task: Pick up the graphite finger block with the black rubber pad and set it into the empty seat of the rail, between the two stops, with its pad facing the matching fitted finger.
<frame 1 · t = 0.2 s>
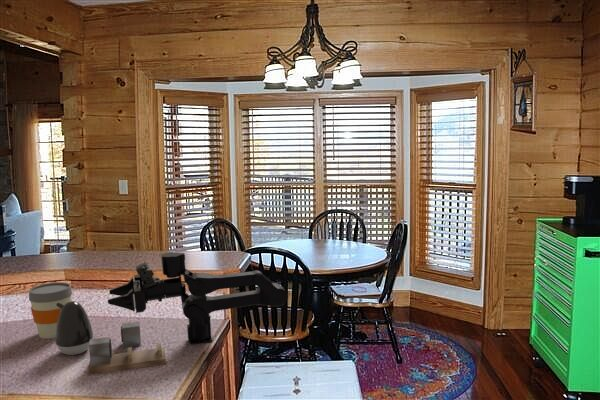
hand: (108, 296, 155), 17 cm above the counter, tool horizontal, fingers open, 9 cm apart
finger block: (132, 343, 163), on the counter
reusable coffee cup: (54, 333, 173), on the counter
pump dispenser: (75, 352, 158), on the counter
rail: (128, 363, 149), on the counter
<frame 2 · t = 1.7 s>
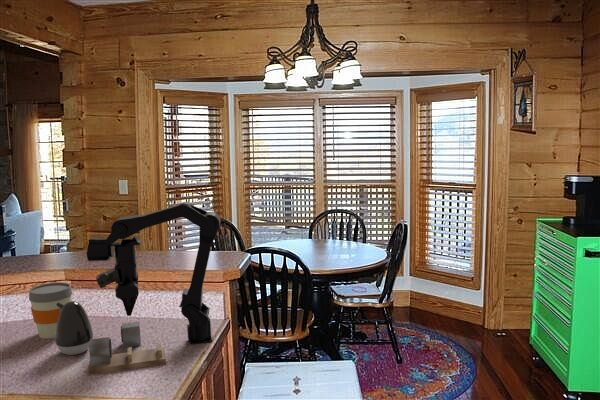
hand: (129, 310, 161), 10 cm above the counter, tool pointing down, fingers open, 9 cm apart
nothing on the counter moved.
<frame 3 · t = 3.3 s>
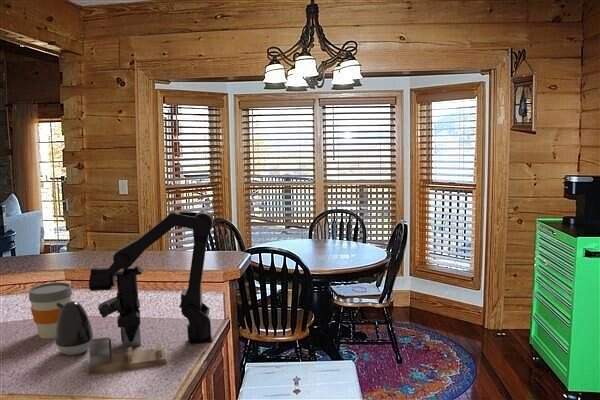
hand: (131, 338, 163), 2 cm above the counter, tool pointing down, fingers closed on finger block, 4 cm apart
finger block: (132, 343, 163), on the counter, touching gripper
everything else where it was.
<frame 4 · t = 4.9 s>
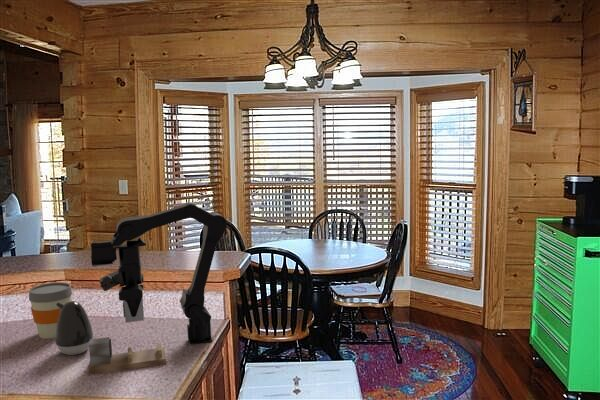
hand: (134, 314, 157), 11 cm above the counter, tool pointing down, fingers closed on finger block, 4 cm apart
finger block: (135, 319, 157), point 9 cm above the counter, touching gripper
everything else where it was.
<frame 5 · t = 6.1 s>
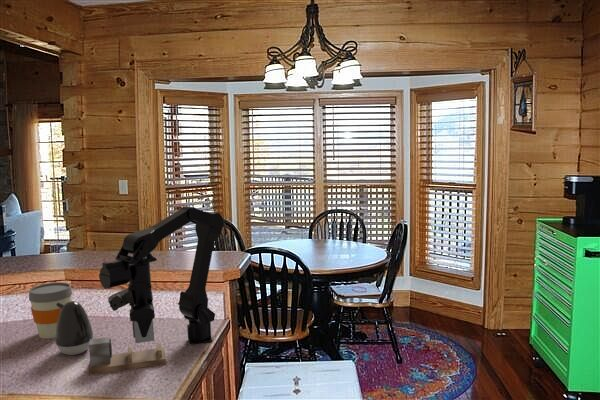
hand: (143, 334, 150), 8 cm above the counter, tool pointing down, fingers closed on finger block, 4 cm apart
finger block: (144, 339, 150), point 6 cm above the counter, touching gripper
everything else where it was.
when the fingers open (4 cm above the counter, at t = 7.0 s): finger block stays where it is, resting on rail.
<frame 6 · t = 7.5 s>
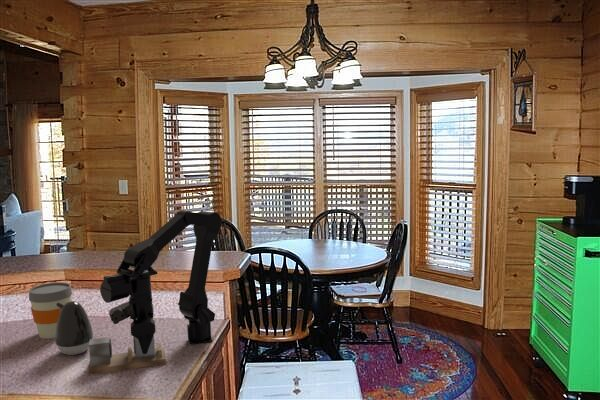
hand: (144, 347, 150), 4 cm above the counter, tool pointing down, fingers open, 9 cm apart
finger block: (145, 355, 150), point 1 cm above the counter, touching rail
everything else where it was.
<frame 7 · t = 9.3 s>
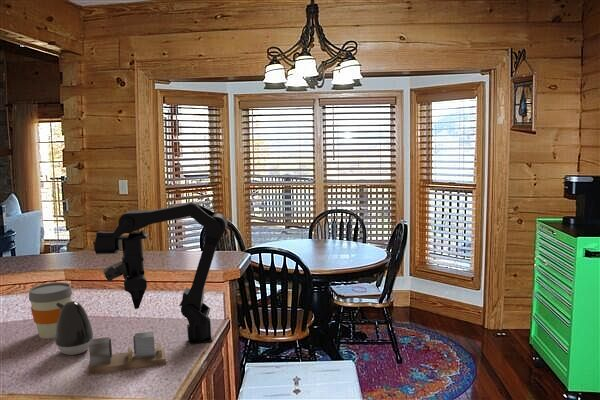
hand: (136, 303, 162), 12 cm above the counter, tool pointing down, fingers open, 9 cm apart
nothing on the counter moved.
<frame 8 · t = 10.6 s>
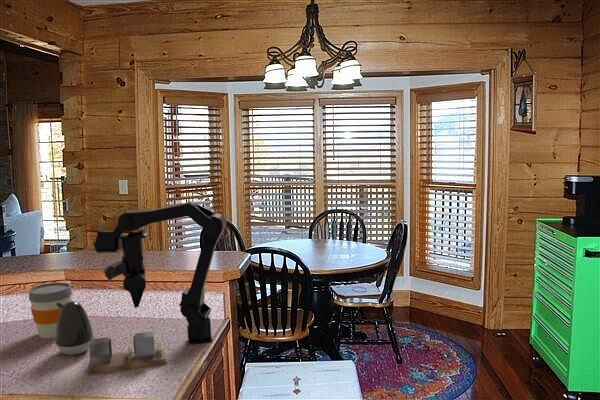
hand: (136, 302, 164), 12 cm above the counter, tool pointing down, fingers open, 9 cm apart
nothing on the counter moved.
at the end: finger block 0.0 cm from the target spot on the rail, point 1.5 cm above the rail's base; finger block tilted 0°; the gripper is holding nothing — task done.
